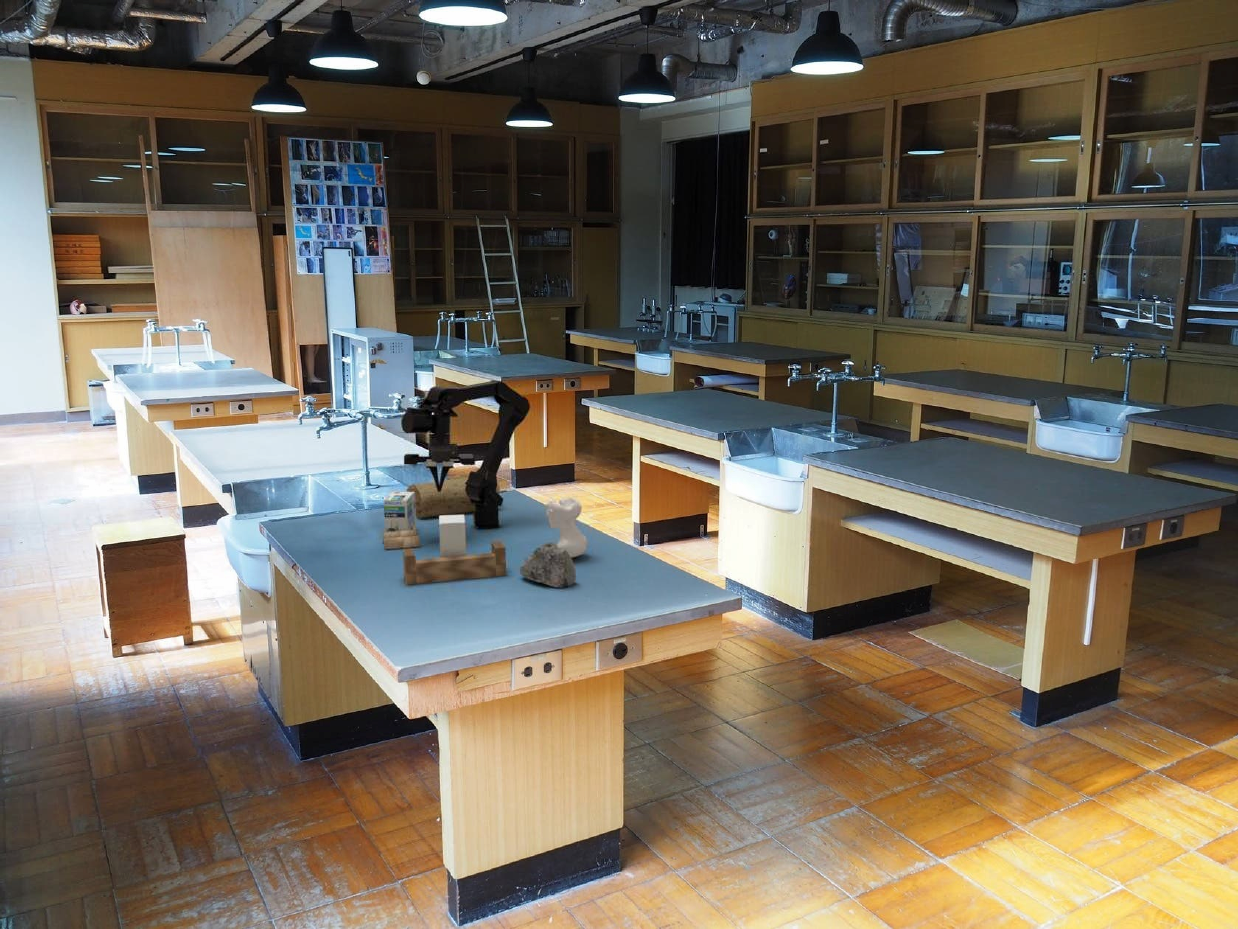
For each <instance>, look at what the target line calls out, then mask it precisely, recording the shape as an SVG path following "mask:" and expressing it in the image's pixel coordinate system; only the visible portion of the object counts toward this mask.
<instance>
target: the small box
mask: <svg viewBox="0 0 1238 929" xmlns="http://www.w3.org/2000/svg"><path fill="white" fill-rule="evenodd" d="M438 518H439V519H438V528H439V555H440V557H439V558H442V557H453V556H464V555H467V538H466V536H467V535H466V532H467V530H466V518H465V514H452V515H443V516H438Z"/></svg>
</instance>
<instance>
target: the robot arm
mask: <svg viewBox="0 0 1238 929" xmlns="http://www.w3.org/2000/svg"><path fill="white" fill-rule="evenodd" d="M427 392H428V393H427V396H425V398H424V400H423V401H422V402H421V403H420V405H419V407H418V408H415V407H410V406H409V407H407V408H406V412H405V413H404V414H403V416H402V418H401V421H400V422H401V424H400V425H401V429H402V431H403V433H405V434H419V435H422V434H427V433H428V455H427V456H425V455H420V454H419V453H405V454H404V456H403V465H404V466H406V465H409V466H413V465H414V466H417V465H418V463H419V464H420V463H422V464H423V463H424V464H425V465H424V466H425V468H426V469H429V471H430V473H431V476H432V478H433V482H435V484H436V488H437V491H438V492H441V489H442V486H443V483H444V481H446V477H447V475H448V473H449V471H450V469H454V464H461V465H463V466H475V465H476V456H475V455H474V454H472V453H471V454H470V453H469V454H468V453H467V454H465V453H463V454H461V453H460V454H458V443H451V420H452V419H451V418H458V414H457V413H456V412H455V411H454V410H453V409H454V408H456V407H458V406H460V405H461V404H462V403H465V402H467V401H468V402H469V401H473V400H474V401H475V400H478V399H485V398H490V397H492V398H493V400H494V402H496V404H498V413H497V414H498V424H497V426H496V428H495V431H494V432H493V436H492V438H491V441H490V443H489V445H488V447H487V450H486V453H485V455H484V457H483V460H482V463H481V465H480V467H479V468H478V469H477V470H476V471H472V470H471V471H470V472H469V473H468V477H467V478H468V480H467V481H466V483H465V484H466V488H465V492H466V494H467V496H468V497H469V499H470V501H471V503H472V504H475V509H474V510H473V512H472V522H473V525H474V526H475V528H476V529H478V530H483V529H494V528H495V529H496V528H500V527H501V524H500V521H499V520H500V519H499V508H500V507H502V506H503V502H504V498H503V496H501V495H500V493H499V494H498V493H497V492H496V488H497V481H498V477H497V474H498V472H499V469H500V467H501V464H502V463H503V462H502V461H503V459H504V456H505V455H506V452H507V449H508V447H509V445H510V442H511V440H512V437H513V434H514V433H515V430H516V428H517V427H518V426H519V425H521V423H522V422H524V420H525V419H526V417H527V415H528V414H529V412H530V408H531V405H530V402H529V399H528V398H527V397H525V396H522V395H521V394H520V393H519V392H517V391H515V390H514V389H512V387H510V386H508V384H507V383H505V382H504V381H502V380H498V379H497V380H496V379H494V380H493V379H492V380H489V381H485V382H479V383H473V384H468V385H463V386H458V387H457V386H456V387H455V386H438V385H435V386H432V387H431V388H429V390H428V391H427ZM437 464H442V465H441V466H440V467H441V468H440V475H439V473H438V466H437ZM439 481H440V482H439Z"/></svg>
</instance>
